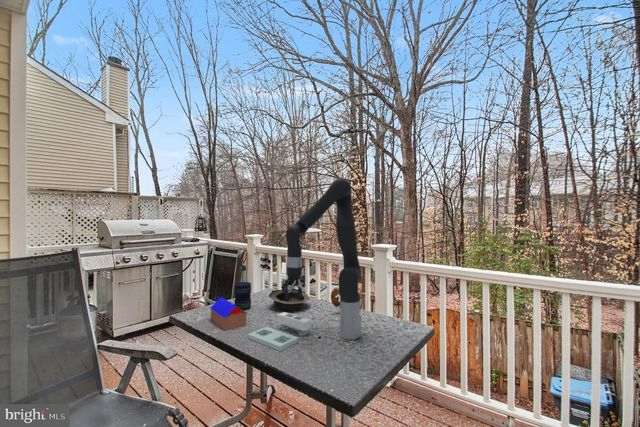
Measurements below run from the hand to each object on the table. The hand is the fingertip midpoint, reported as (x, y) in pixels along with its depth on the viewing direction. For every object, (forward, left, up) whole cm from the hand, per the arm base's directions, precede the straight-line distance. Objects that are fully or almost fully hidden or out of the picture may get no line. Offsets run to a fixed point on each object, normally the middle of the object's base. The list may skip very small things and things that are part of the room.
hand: (293, 298), depth 156 cm
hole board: (0, +14, -16) cm, 21 cm away
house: (+35, +13, -17) cm, 41 cm away
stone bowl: (+28, -27, -17) cm, 42 cm away
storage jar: (+48, -7, -17) cm, 51 cm away
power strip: (0, 0, -16) cm, 16 cm away
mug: (-5, -37, -17) cm, 41 cm away
